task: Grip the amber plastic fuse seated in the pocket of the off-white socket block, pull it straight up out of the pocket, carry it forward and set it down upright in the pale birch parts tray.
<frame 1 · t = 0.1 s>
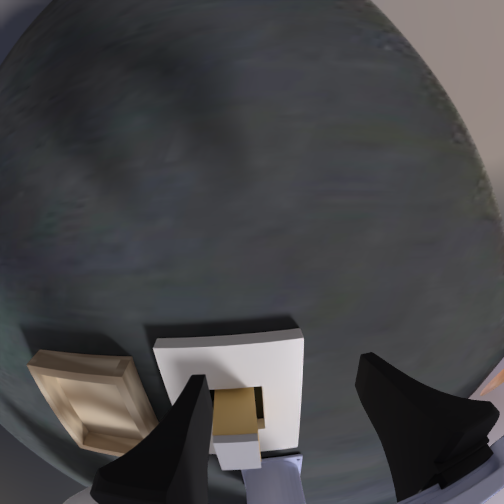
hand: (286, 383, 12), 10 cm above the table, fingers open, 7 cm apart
socket block: (236, 400, 24), on the table
fuse: (237, 426, 21), in the socket block
folded paper: (131, 485, 31), on the table
parts tray: (103, 403, 24), on the table
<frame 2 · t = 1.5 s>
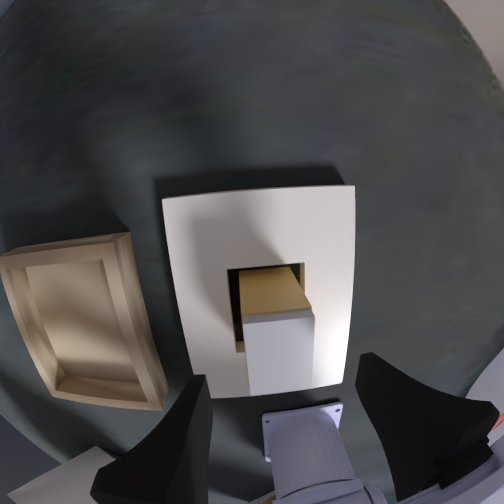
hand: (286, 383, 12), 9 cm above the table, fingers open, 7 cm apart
socket block: (266, 301, 20), on the table
coffee box: (281, 495, 30), on the table
fuse: (272, 325, 17), in the socket block
folded paper: (120, 463, 26), on the table
parts tray: (85, 321, 20), on the table
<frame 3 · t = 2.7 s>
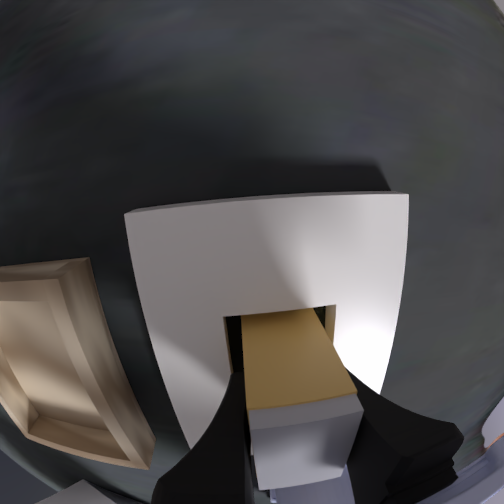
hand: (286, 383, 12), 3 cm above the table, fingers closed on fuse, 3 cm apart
socket block: (278, 350, 14), on the table
fuse: (289, 396, 11), in the socket block, touching gripper
folded paper: (111, 496, 21), on the table
parts tray: (51, 363, 14), on the table
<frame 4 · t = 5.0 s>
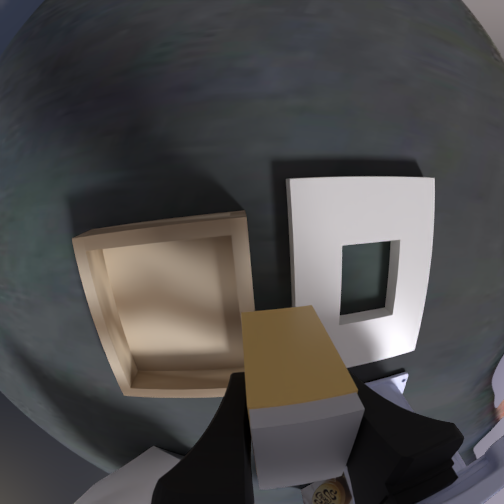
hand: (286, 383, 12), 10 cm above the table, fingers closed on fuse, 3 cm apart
socket block: (362, 276, 21), on the table
coffee box: (332, 478, 32), on the table
fuse: (289, 395, 11), point 11 cm above the table, touching gripper
folded paper: (177, 462, 28), on the table
parts tray: (176, 308, 21), on the table
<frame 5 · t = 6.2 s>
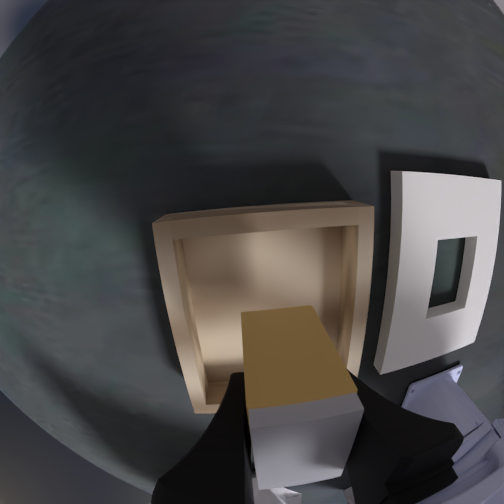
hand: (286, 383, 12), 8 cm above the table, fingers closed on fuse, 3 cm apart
socket block: (443, 271, 19), on the table
fuse: (289, 395, 11), point 8 cm above the table, touching gripper
folded paper: (226, 474, 26), on the table
parts tray: (268, 308, 19), on the table
when the fingers open (5 cm above the table, at t = 7.2 s): fuse drops 1 cm, resting on parts tray.
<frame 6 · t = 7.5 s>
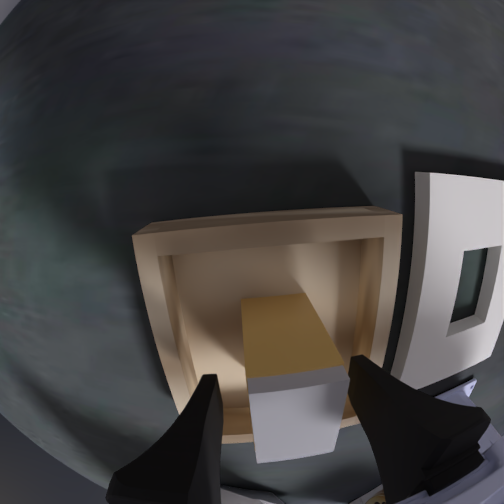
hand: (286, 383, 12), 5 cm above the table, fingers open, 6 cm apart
socket block: (464, 283, 16), on the table
coffee box: (379, 490, 27), on the table
fuse: (284, 373, 12), in the parts tray
folded paper: (226, 493, 23), on the table
parts tray: (273, 331, 16), on the table
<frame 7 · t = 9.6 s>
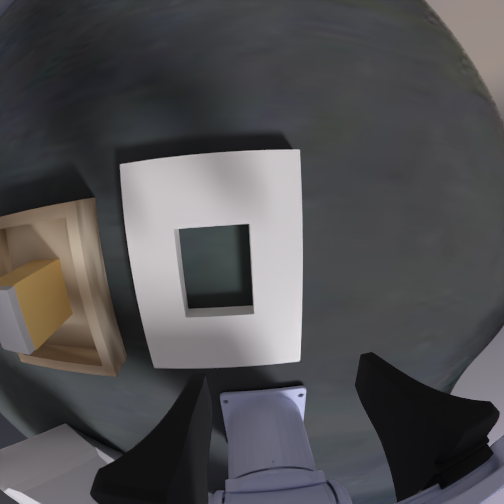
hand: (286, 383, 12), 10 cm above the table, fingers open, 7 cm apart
socket block: (216, 267, 20), on the table
fuse: (29, 303, 16), in the parts tray
folded paper: (89, 444, 26), on the table
parts tray: (54, 286, 20), on the table
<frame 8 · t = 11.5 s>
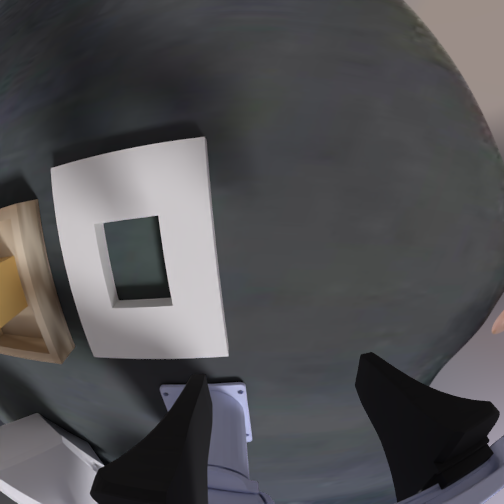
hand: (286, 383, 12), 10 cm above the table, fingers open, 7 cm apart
socket block: (138, 259, 20), on the table
folded paper: (60, 434, 26), on the table
parts tray: (13, 280, 19), on the table
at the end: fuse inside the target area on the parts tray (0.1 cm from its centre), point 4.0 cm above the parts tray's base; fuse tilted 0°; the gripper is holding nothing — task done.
